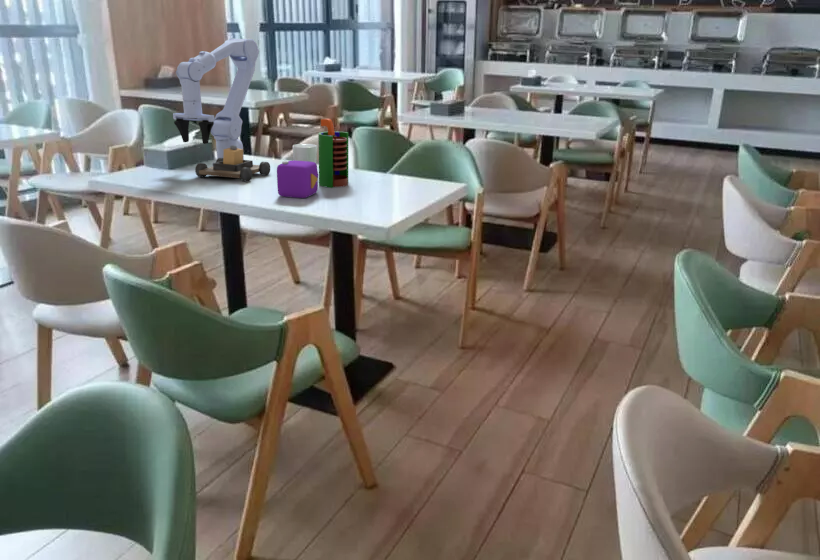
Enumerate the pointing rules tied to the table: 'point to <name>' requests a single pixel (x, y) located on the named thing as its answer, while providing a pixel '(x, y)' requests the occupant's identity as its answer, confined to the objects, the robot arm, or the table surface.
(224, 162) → the tan block with knob
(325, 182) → the motor
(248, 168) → the chassis
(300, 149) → the white cup
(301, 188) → the purple arrow cube
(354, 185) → the table surface
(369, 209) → the table surface
